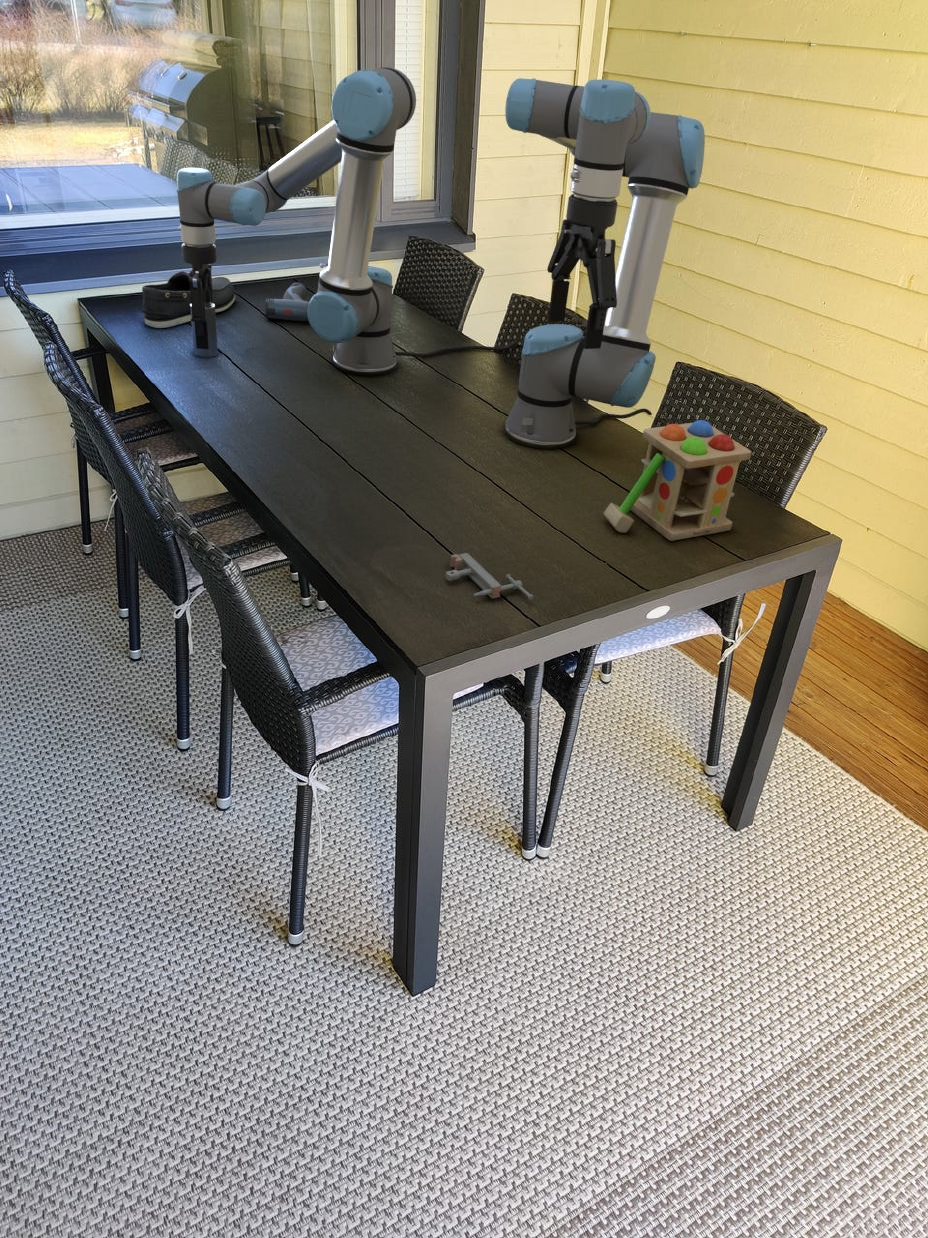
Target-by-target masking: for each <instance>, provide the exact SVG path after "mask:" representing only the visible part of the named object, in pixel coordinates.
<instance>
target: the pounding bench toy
mask: <svg viewBox="0 0 928 1238" xmlns="http://www.w3.org/2000/svg"><path fill="white" fill-rule="evenodd" d="M642 438H643V440H645V441H646V442H648V446H647V450H646V455H645V458H642V459H641V463H643V464H644V465H643V469H642V474H641V475H640V477H639V478H638V480H637V481H636V483H635V484H634V486H633V488H632V489H631V490H630V492H629V493H628V495H627V496H626V498H625V499H624V501H623V502H622V503H621V505H620V506H619V505H617V504H615V503H613V502H610V503H609V504H608V505H607V507H606V509H605V510H604V512H603V517H604V518H605V519H606V520H607V521H608V522H609V524H610V525H611V526H612V527H613V528H614V529H615V530H616V531H617V532H618V533H621V534H623V533H624V534H625V533H627V532H628V531H629V530H630V529H631V527H632V526H633V524H634V523H635V521H634V519H633V518H632V516H630V515H629V512H630V511H631V512H632V513H634V515H636V516H638V518H640V519H641V520H642V521H644V522H645V523H646V524H648V525H649V526H650V527H652V529H654V530H655V531H656V532H658V533H659V534H661V536H663V537H664V538H666V539H667V540H668V541H670V542H673V541H680V540H684V539H690V538H695V537H702V536H707V535H712V534H717V533H724V532H728V531H731V529H732V527H733V521H732V520H731V519H729V518H728V517H727V512H728V509H729V505H730V501H731V498H732V497H733V498H734V497H735V493H734V492H733V490H734V487H735V486H734V485H735V482H736V479H737V474H738V470H739V466H740V462H743V461H749V460H750V459H751V457H752V453H753V452H752V450H750V449H749V448H747V447H745V446H743V444H741V443H739V442H738V441H736V440H734V439H733V438H732V437H731V436H729V435H728V434H725V433H724V432H722V431H721V430H719V429H717V428H716V427H714V426H712V425H711V423H710V422H708V421H706V420H703V419H698V420H696V421H694V422H688V423H680V424H679V423H678V424H677V423H669V424H666V425H664V426H655V427H650V428H649V427H648V428H644V429H643V432H642Z"/></svg>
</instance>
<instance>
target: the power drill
mask: <svg viewBox="0 0 928 1238" xmlns="http://www.w3.org/2000/svg"><path fill="white" fill-rule="evenodd" d="M307 295H308V290H307V287H306V285H304V284H303V283H301V282H293V283H292V284H291V285H290V286H289V287H288V288H287V289H286V291H285V292H284V294H283V297H282V298H266V299H265V302H264V313H265V314H264V316H265V318H267V319H274V320H275V319H276V320H283V321H294V322H295V321H297V322H309V320H308V315H307V308H308V304H309V302H310V301H307V300H305V299H306V297H307Z"/></svg>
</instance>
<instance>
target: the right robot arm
mask: <svg viewBox="0 0 928 1238" xmlns="http://www.w3.org/2000/svg"><path fill="white" fill-rule="evenodd" d="M635 88H636V87H635V86H634V85H633V84H631V83H629V82H626V81H620V80H613V79H594V78H593V79H590V80H588V81H587V82H586V83H585V84H584V85H578V84H577V85H573V84H572V85H571V84H566V83H560V82H555V81H554V82H553V81H547V80H542V79H541V80H540V79H536V78H522V77H521V78H516V79H515V80H513V82H511V85H510V86H509V88H508V91H507V94H506V95H507V96H506V100H505V106H504V107H505V109H504V112H505V113H504V116H505V121H506V124H507V127H508V128H509V129H510V130H512V131H513V130H514V131H518V132H522V134H527V133H528V134H533V135H534V134H535V135H538V136H541V137H542V138H546V139H547V140H550V141H552V142H554V143H556V144H559V145H560V146H562V147H563V146H564V147H565V148H567V149H568V150H569V152H570V153H571V154H572V156H573V164H572V165H573V166H572V172H570V174H569V175H570V179H571V181H570V186H569V187H570V188H569V189H570V191H571V193H572V194H570V196H569V197H568V201H567V207H566V208H567V209H566V215H565V219H563V220H562V224H561V229H560V233H559V235H558V238H557V241H556V244H555V246H554V249H553V251H552V254H551V257H550V260H549V262H548V265H547V269H546V270H547V273H551V277H550V278H551V280H552V286H551V293H550V302H549V308H548V309H549V310H548V316H547V321H548V322H565V318H566V310H567V305H568V304H567V303H568V297H569V289H570V284H571V283H570V281H569V280H572V277H571V274H572V272H573V271H574V269H575V267H576V266H577V264H578V263H579V261H580V262H582V265H583V267H584V268H585V269H586V273H587V279H588V284H589V290H590V296H591V301H592V302H591V304H590V305H589V306H588V308H589V309H588V314H587V321H586V328H585V334H584V333H583V330H582V329H581V328H580V327H577V326H575V325H571V324H561V323H553V324H544V325H539V326H536V327H534V328H531V329H530V330H529V331H528V332H527V333H526V334H525V336H524V340H523V341H524V342H523V346H522V350H521V361H520V371H519V380H518V389H517V395H516V399H515V401H514V403H513V406H512V408H511V410H510V412H509V414H508V416H507V418H506V421H505V425H504V433H505V435H506V436H507V437H508V439H510V440H511V441H513V442H514V443H517V444H519V445H521V446H526V447H530V448H534V449H541V450H542V449H543V450H554V449H555V450H556V449H562V448H566V447H568V446H570V445H572V444H573V443H574V442H575V440H576V433H577V427H576V426H580V425H585V426H586V425H589V426H590V425H596V424H598V422H600V420H602V419H604V418H607V419H608V418H610V419H619V420H620V419H629V418H631V417H634V416H636V415H639V414H641V413H645V414H647V415H648V416H652V415H653V413H652V412H651V411H650V409H648V408H639V409H636V410H633V411H631V412H629V413H625V414H615V413H601V414H599V415H597V416H596V418H595V419H594V420H575V417H574V410H573V399H574V398H573V397H575V398H579V399H584V400H588V401H592V402H597V403H602V404H604V405H605V404H606V405H610V407H621V408H628V409H631V408H633V407H635V406H637V404H638V403H639V402H640V400H641V399H642V398H643V395H644V393H645V392H646V389H647V387H648V385H649V382H650V379H651V377H652V375H653V371H654V367H655V363H656V357H657V356H656V353H654V352H653V351H650V350H651V345H652V341H651V340H650V338H649V336H648V334H647V330H648V326H649V322H650V317H651V313H652V309H653V304H654V301H655V297H656V292H657V288H658V283H659V279H660V276H661V272H662V267H663V263H664V259H665V255H666V252H667V247H668V243H669V239H670V234H671V230H672V226H673V222H674V218H675V213H676V209H677V207H678V206H679V204H681V203H682V202H684V201H685V200H687V198H688V194H689V190H690V189H691V190H693V189H697V188H698V186H699V185H700V180H701V177H702V173H703V167H704V159H705V144H706V143H705V141H706V137H705V135H706V134H705V128H704V125H703V123H702V121H700V120H699V119H696V118H692V117H687V116H684V115H683V116H682V115H681V114H678V115H677V114H670V113H669V114H668V113H662V112H653V111H651V108H650V104H649V102H648V100H647V98H645V96H644V95H643V94H642V93H640V92H639V91H636V89H635ZM622 178H628V181H627V186H626V188H627V189H628V191H629V194H630V195H631V197H632V200H631V203H630V208H629V212H628V216H627V222H626V225H625V229H624V234H623V239H622V242H621V243H622V244H621V247H620V252H619V255H618V259H617V265H616V263H615V262H616V261H615V259H616V257H615V255H616V244H617V241H616V240H615V238H613V239H607V238H606V230H607V229H608V228H611V227H613V226H614V225H615V222H616V216H617V215H616V214H617V209H618V201H617V199H616V198H618V197H619V196H620V193H621V187H622V181H623V180H622ZM583 337H584V338H583Z"/></svg>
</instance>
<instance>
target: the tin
mask: <svg viewBox="0 0 928 1238" xmlns="http://www.w3.org/2000/svg"><path fill="white" fill-rule="evenodd" d="M190 309H191V319H192V308H191V304H190ZM205 315H206V321H207V330H208V346H209V349H197V348H196V335H195V322H191V333H192V348H193V349H192V350H193V354H194V356H196V357H200V358H212V357H216V356H218V354H219V349H218V348H219V347H218V332H217V316H216V312H215V304H213V303H211V302H205Z"/></svg>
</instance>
